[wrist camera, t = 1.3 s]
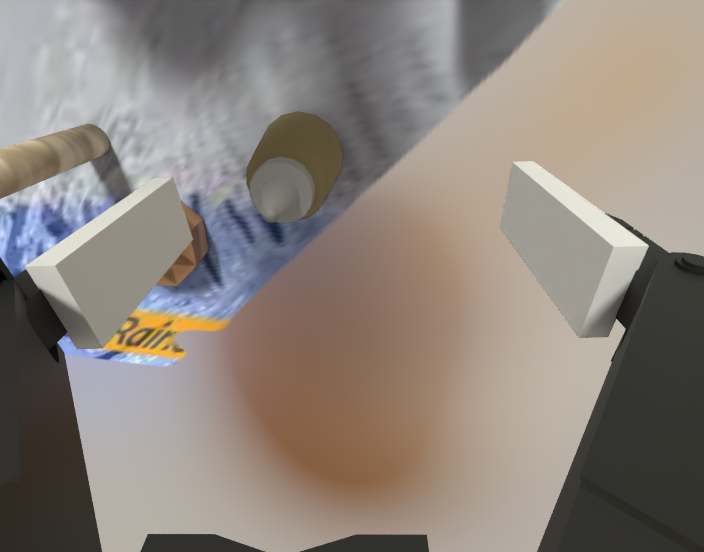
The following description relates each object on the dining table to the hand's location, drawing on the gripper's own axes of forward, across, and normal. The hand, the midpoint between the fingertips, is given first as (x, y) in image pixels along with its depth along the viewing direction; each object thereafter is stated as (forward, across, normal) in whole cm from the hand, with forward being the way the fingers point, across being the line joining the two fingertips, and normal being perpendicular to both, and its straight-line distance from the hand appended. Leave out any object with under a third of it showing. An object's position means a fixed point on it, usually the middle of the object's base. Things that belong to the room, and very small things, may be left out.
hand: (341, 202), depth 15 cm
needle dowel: (+26, -28, -2) cm, 38 cm away
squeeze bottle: (+26, -5, -4) cm, 27 cm away
